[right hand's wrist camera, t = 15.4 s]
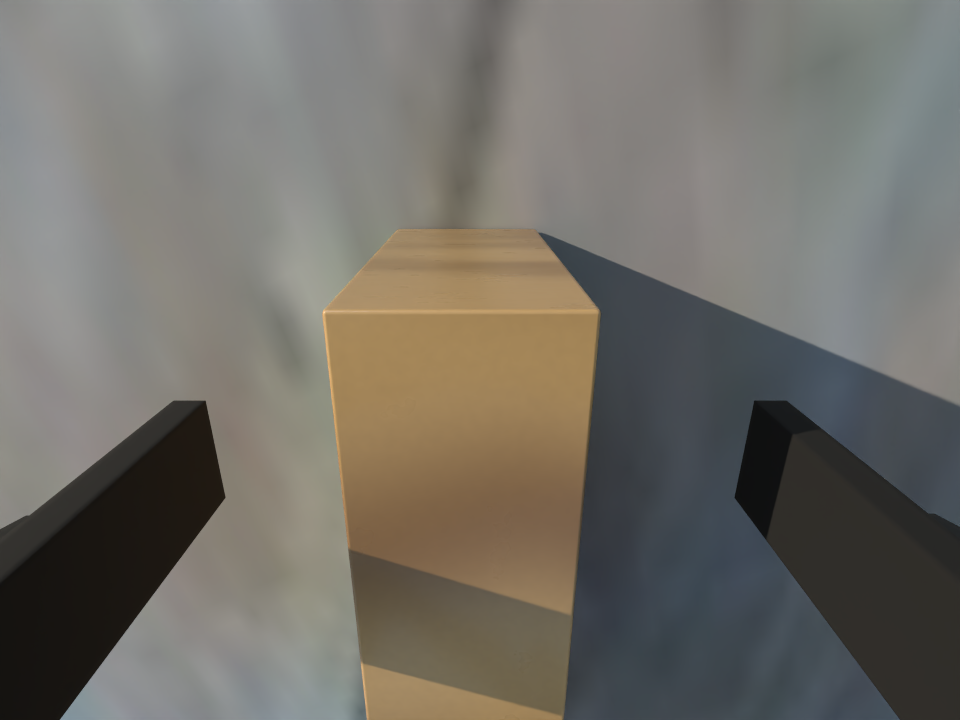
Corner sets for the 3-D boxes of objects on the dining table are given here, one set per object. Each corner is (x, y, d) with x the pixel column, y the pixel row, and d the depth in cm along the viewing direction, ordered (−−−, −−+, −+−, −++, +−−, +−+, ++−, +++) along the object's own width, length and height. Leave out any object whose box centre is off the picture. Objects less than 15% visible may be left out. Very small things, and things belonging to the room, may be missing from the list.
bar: (396, 228, 17) (320, 310, 8) (536, 229, 17) (602, 310, 8) (422, 720, 25) (398, 1010, 17) (515, 718, 25) (537, 1006, 17)
